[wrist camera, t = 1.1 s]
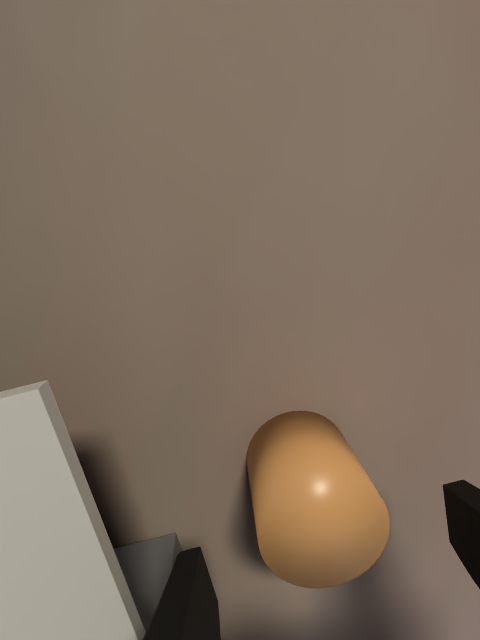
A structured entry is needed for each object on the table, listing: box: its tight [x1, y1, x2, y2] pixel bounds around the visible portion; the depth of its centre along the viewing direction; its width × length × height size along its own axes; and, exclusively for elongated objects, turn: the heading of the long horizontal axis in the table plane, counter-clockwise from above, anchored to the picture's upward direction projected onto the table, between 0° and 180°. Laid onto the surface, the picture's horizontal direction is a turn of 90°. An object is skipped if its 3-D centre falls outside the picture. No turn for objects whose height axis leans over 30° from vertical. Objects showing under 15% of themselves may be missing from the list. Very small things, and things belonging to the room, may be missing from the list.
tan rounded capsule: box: [247, 411, 390, 588], centre depth 14 cm, size 4×4×4 cm
